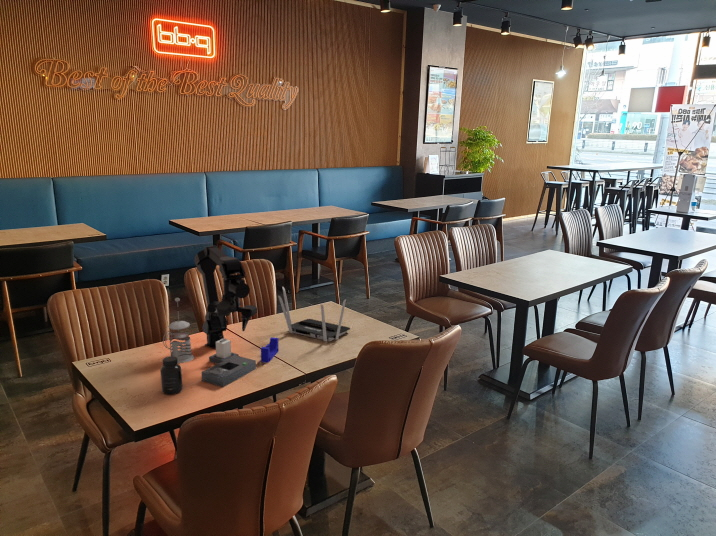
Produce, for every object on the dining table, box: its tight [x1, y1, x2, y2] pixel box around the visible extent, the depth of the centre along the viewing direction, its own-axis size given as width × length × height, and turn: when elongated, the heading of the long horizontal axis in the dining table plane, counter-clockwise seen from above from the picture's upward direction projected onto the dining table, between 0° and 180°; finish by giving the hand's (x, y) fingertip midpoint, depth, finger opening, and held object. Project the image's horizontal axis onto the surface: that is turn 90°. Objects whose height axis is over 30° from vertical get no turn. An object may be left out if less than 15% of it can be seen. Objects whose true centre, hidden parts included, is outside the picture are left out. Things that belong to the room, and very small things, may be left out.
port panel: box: [201, 355, 257, 388], centre depth 205 cm, size 10×18×4 cm, turn 151°
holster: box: [208, 351, 239, 365], centre depth 218 cm, size 8×8×2 cm
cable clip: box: [260, 337, 280, 364], centre depth 222 cm, size 12×4×6 cm, turn 169°
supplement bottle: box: [159, 355, 184, 396], centre depth 191 cm, size 7×7×12 cm
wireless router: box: [277, 286, 351, 342], centre depth 245 cm, size 34×23×20 cm
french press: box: [162, 297, 195, 364], centre depth 216 cm, size 10×12×25 cm
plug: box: [215, 338, 232, 359], centre depth 217 cm, size 4×4×9 cm
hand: (232, 329), depth 216 cm, fingers open, 9 cm apart
